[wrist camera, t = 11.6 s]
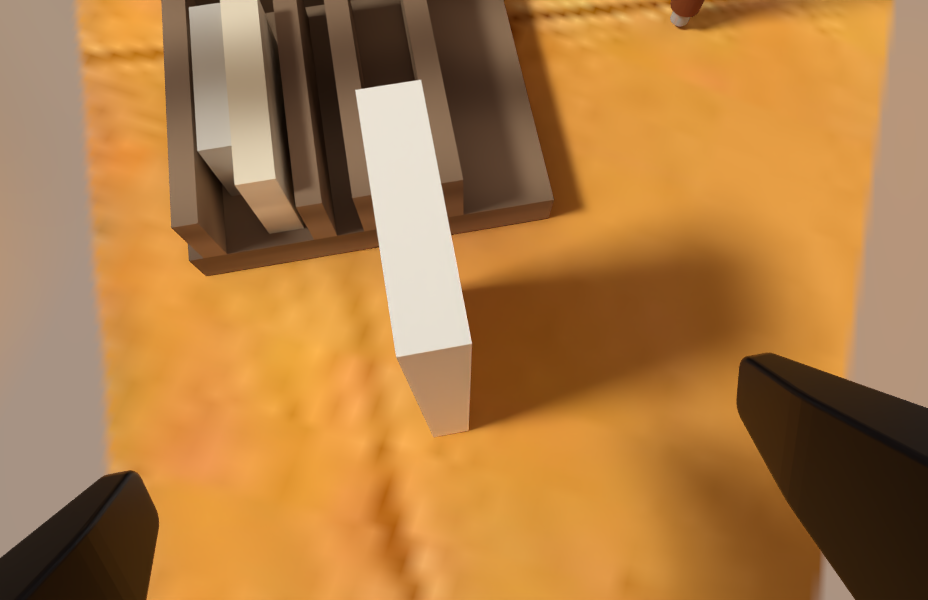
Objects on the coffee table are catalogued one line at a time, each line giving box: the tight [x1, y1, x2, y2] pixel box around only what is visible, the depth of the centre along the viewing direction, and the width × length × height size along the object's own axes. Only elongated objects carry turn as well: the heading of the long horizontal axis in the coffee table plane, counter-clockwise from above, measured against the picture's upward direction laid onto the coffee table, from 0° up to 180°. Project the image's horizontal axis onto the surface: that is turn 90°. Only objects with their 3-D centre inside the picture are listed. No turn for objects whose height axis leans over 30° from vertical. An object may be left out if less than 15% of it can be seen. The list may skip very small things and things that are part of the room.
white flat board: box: [355, 80, 472, 437], centre depth 16 cm, size 5×1×12 cm, turn 10°
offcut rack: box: [161, 0, 554, 276], centre depth 22 cm, size 11×13×6 cm
